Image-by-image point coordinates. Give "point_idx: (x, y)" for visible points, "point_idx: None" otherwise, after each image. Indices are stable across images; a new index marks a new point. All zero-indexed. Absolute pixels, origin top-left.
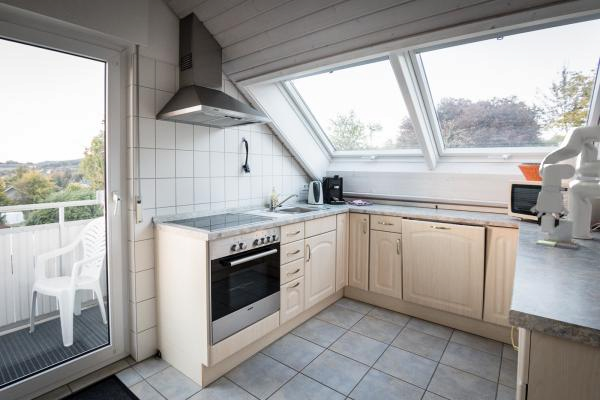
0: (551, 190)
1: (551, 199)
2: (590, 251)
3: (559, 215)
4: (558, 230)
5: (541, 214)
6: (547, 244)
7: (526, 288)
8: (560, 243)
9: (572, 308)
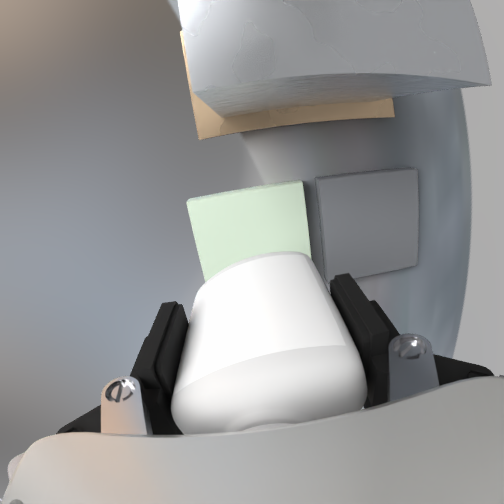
0: None
1: None
2: (459, 241)
3: (431, 386)
4: (309, 96)
5: (148, 427)
6: None
7: None
8: (333, 206)
9: None
